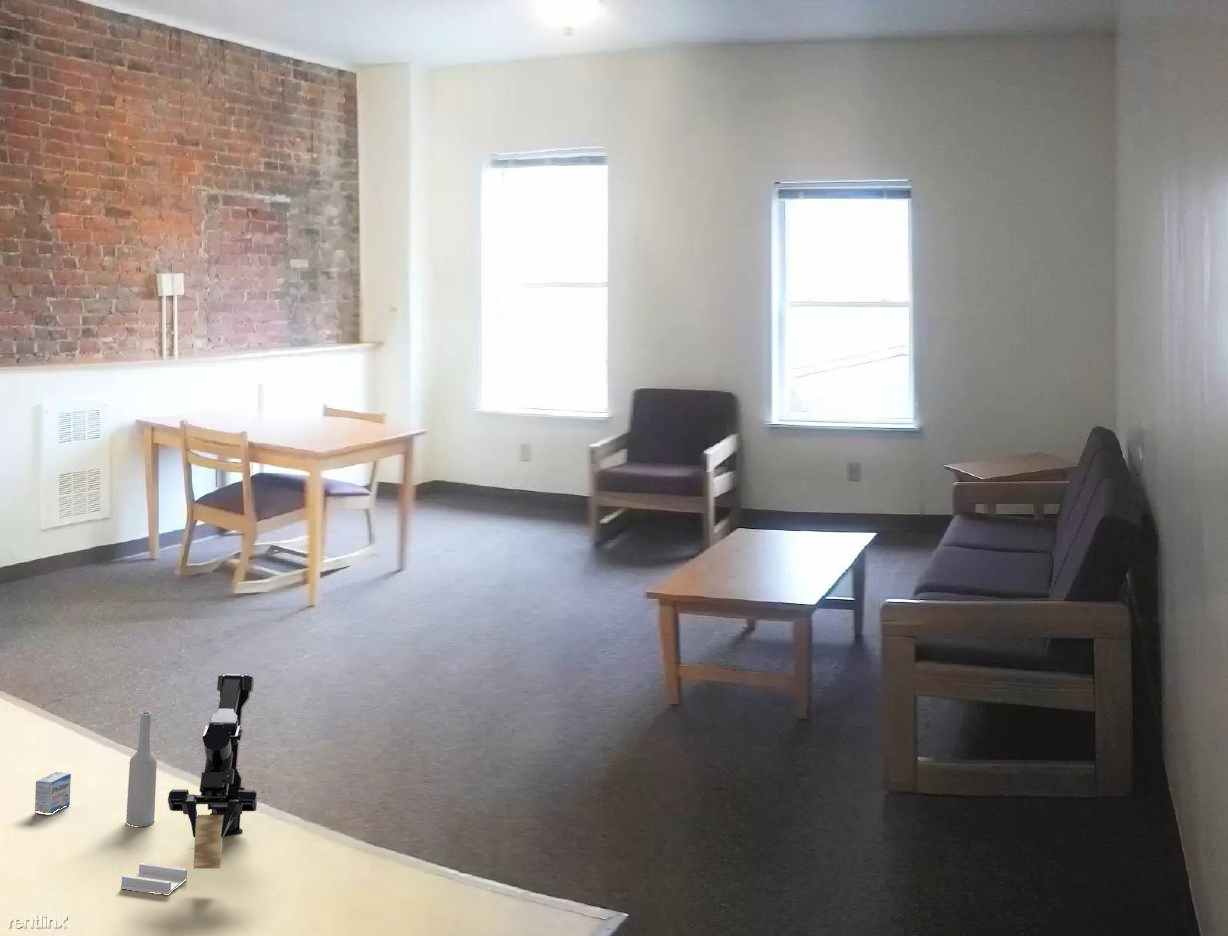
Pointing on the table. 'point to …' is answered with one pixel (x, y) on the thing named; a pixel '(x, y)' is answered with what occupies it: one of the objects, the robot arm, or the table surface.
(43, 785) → the medicine box
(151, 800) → the bottle
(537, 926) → the table surface
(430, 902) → the table surface
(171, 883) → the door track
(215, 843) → the wooden block
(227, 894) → the table surface
